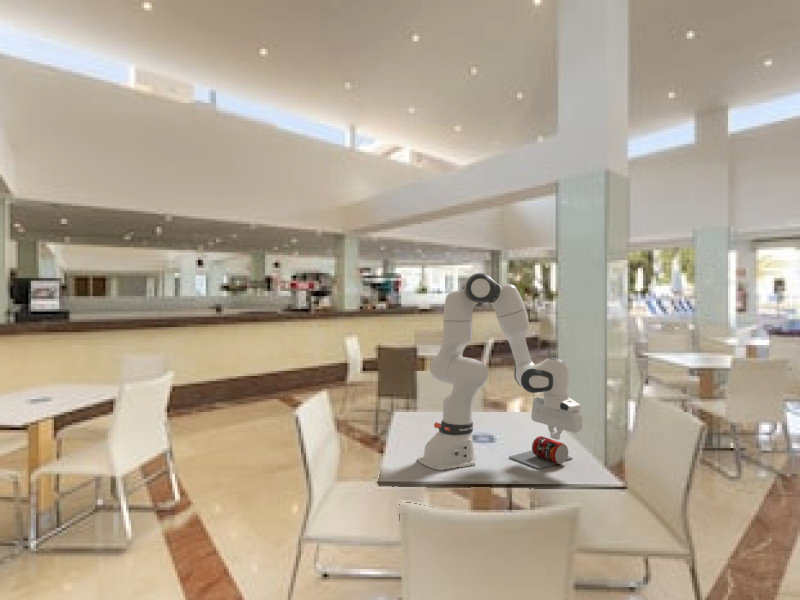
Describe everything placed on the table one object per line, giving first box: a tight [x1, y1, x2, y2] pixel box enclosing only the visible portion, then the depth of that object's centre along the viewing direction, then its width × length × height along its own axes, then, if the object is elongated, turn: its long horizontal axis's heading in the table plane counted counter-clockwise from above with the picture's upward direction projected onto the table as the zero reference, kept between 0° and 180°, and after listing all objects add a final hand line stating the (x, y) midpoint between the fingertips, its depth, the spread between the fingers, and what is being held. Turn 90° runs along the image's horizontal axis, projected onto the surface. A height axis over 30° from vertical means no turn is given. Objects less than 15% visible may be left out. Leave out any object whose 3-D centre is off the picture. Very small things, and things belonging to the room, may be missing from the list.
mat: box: [508, 450, 573, 470], centre depth 180 cm, size 20×14×1 cm
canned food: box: [531, 435, 569, 465], centre depth 177 cm, size 8×8×11 cm
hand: (555, 438), depth 174 cm, fingers closed
